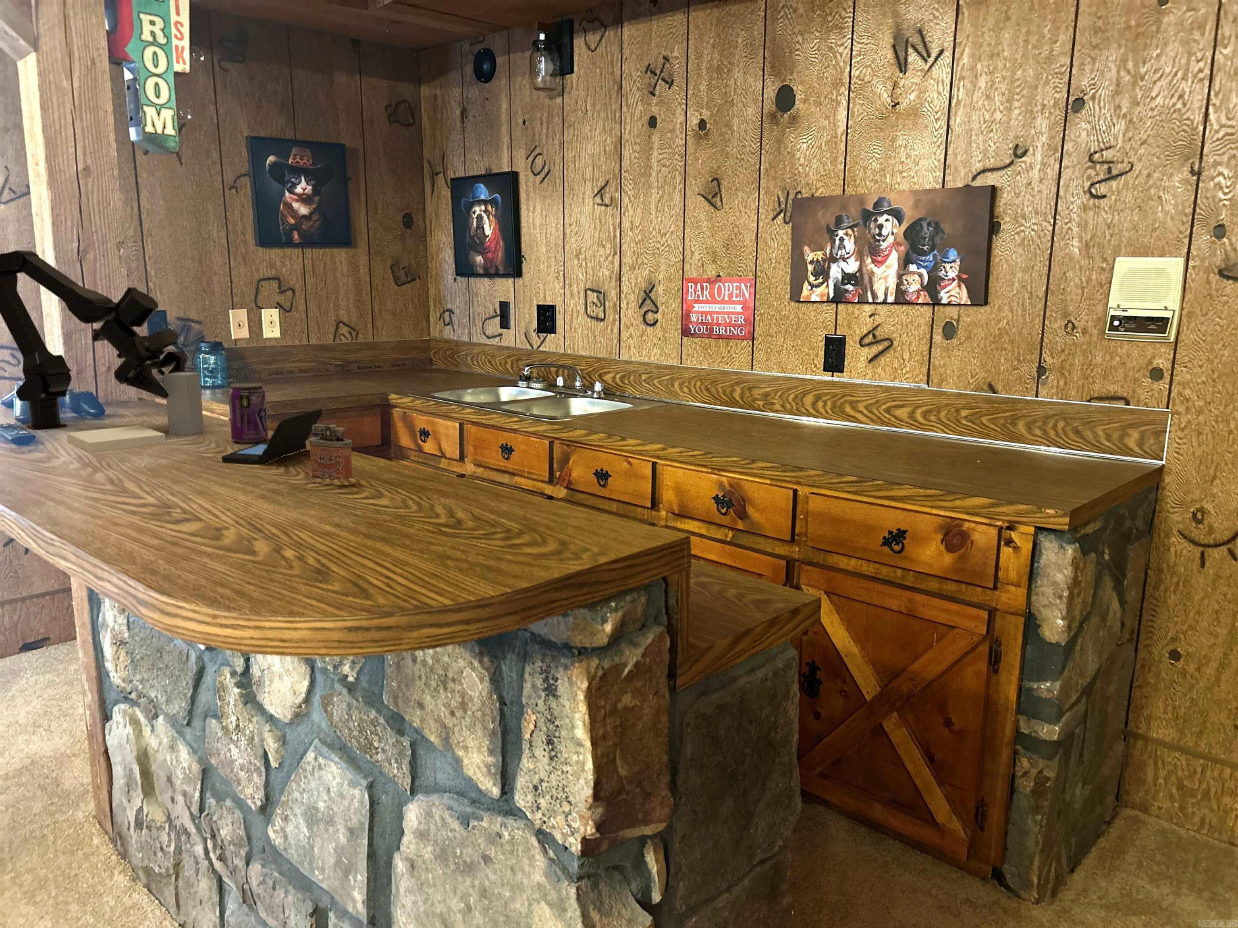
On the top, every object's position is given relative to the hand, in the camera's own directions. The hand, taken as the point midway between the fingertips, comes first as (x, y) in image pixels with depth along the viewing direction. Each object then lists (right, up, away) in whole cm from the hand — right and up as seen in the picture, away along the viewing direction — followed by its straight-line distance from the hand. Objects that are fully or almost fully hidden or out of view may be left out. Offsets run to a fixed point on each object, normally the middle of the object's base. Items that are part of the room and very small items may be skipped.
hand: (180, 394), depth 193 cm
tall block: (+1, -8, +2) cm, 8 cm away
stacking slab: (-8, -11, -11) cm, 18 cm away
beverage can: (+18, -11, -6) cm, 22 cm away
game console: (+29, -14, -21) cm, 38 cm away
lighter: (+46, -19, -41) cm, 64 cm away
